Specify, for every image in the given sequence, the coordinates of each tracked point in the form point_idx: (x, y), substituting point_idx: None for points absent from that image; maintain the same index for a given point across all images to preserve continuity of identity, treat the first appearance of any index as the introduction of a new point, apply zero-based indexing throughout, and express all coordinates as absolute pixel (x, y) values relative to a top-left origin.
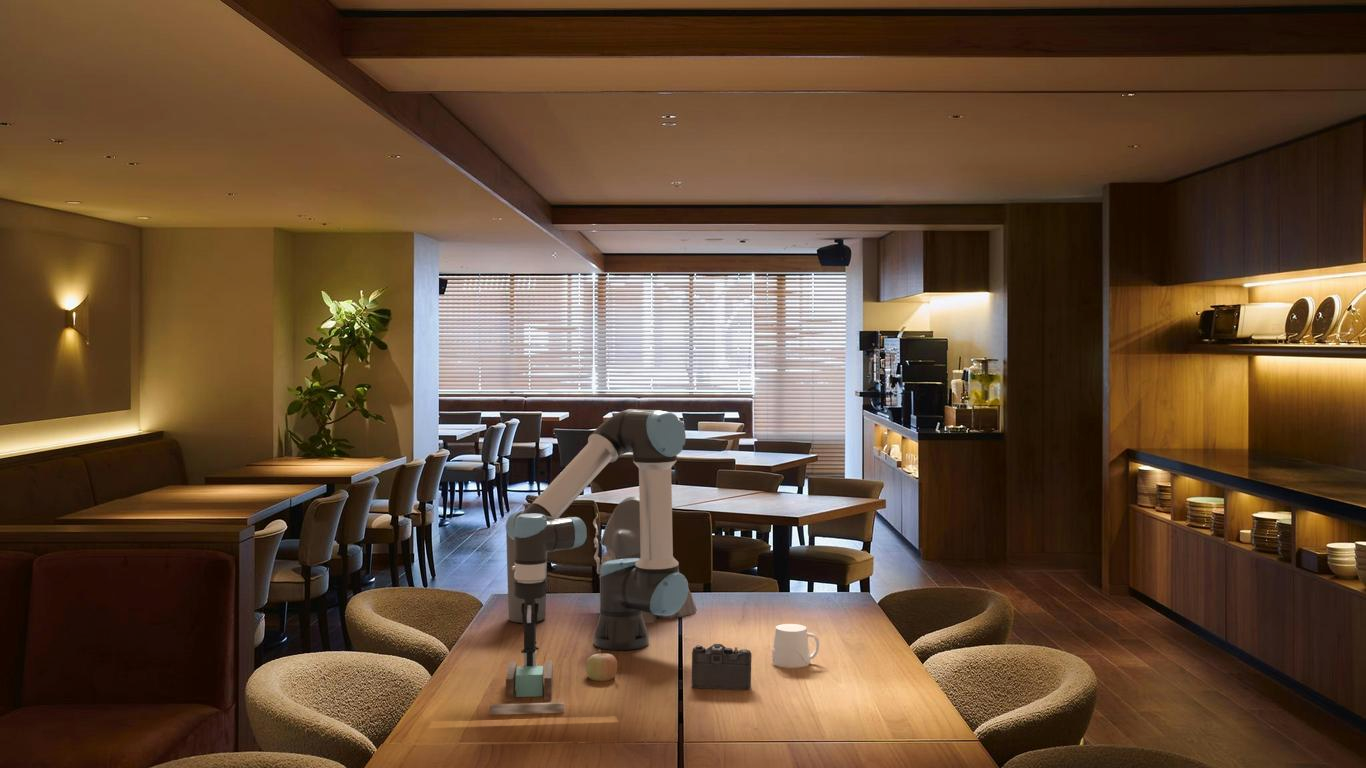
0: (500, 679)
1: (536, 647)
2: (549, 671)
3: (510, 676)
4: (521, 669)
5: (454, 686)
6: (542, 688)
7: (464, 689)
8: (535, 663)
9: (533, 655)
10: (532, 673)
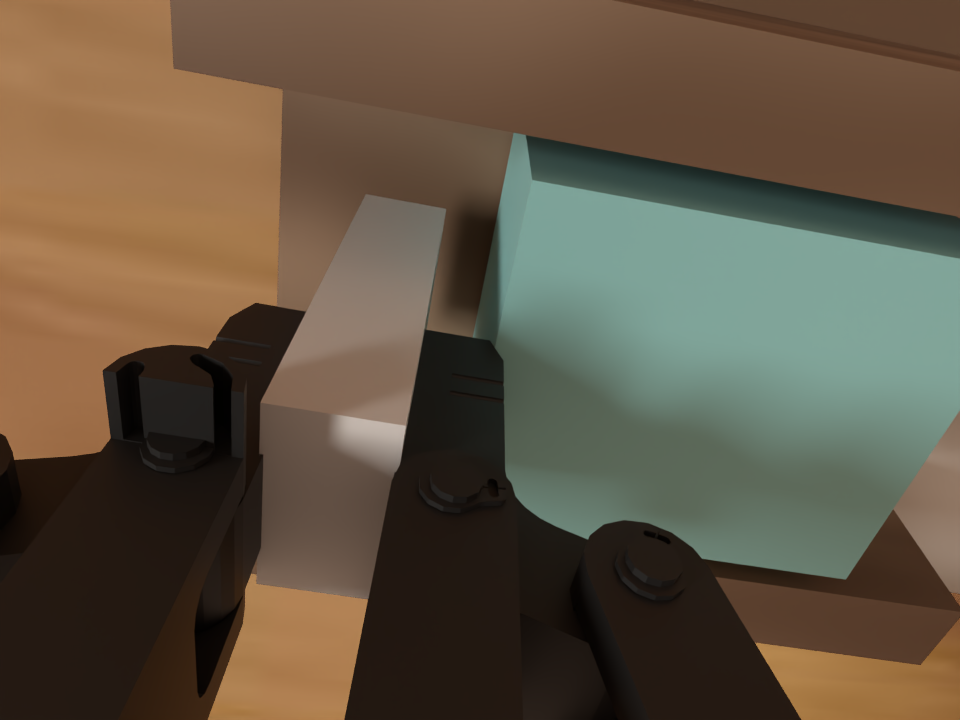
0: (58, 426)
1: (202, 428)
2: (925, 117)
3: (839, 621)
4: (620, 500)
5: (234, 680)
6: None
7: (310, 644)
8: (427, 307)
9: (407, 421)
10: (892, 402)
